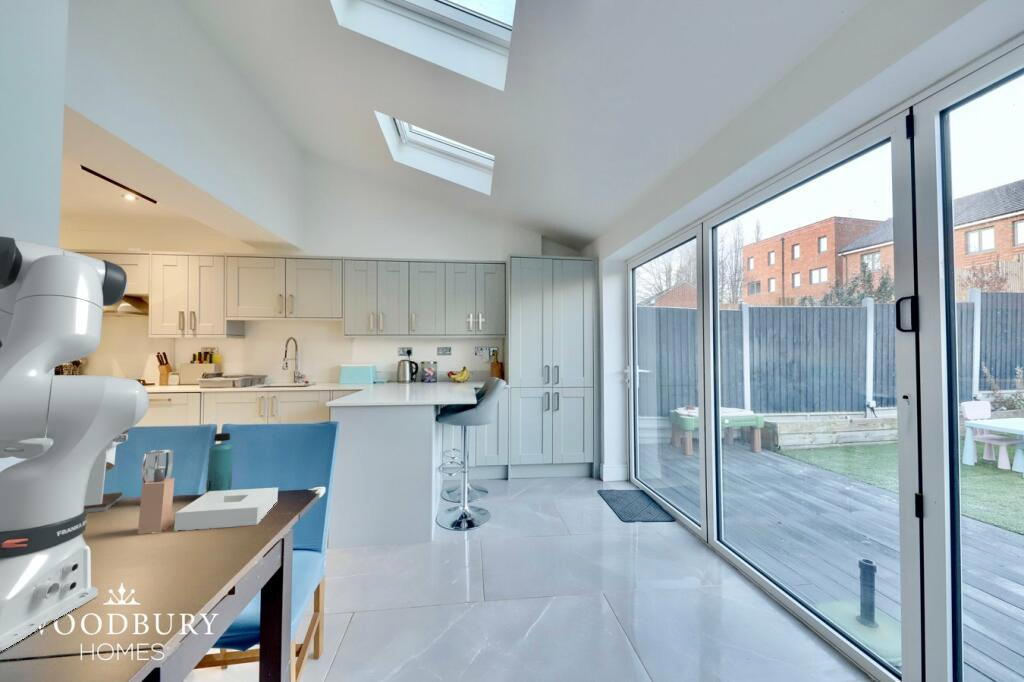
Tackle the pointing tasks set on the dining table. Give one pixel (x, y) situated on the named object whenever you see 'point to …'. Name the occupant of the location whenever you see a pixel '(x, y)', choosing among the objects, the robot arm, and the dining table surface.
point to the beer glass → (156, 464)
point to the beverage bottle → (220, 465)
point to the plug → (156, 503)
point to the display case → (101, 481)
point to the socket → (226, 509)
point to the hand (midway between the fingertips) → (110, 442)
